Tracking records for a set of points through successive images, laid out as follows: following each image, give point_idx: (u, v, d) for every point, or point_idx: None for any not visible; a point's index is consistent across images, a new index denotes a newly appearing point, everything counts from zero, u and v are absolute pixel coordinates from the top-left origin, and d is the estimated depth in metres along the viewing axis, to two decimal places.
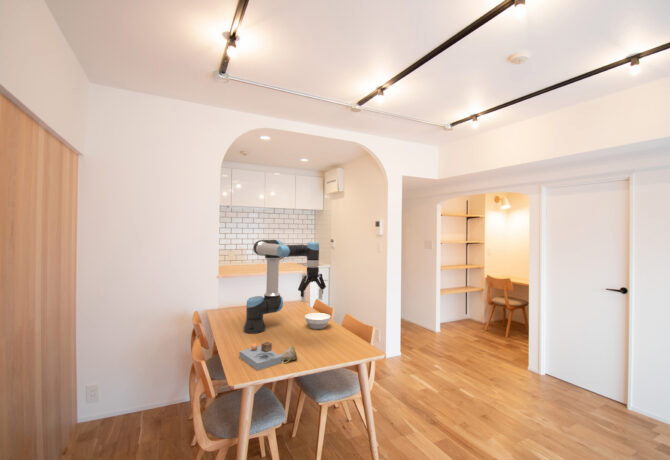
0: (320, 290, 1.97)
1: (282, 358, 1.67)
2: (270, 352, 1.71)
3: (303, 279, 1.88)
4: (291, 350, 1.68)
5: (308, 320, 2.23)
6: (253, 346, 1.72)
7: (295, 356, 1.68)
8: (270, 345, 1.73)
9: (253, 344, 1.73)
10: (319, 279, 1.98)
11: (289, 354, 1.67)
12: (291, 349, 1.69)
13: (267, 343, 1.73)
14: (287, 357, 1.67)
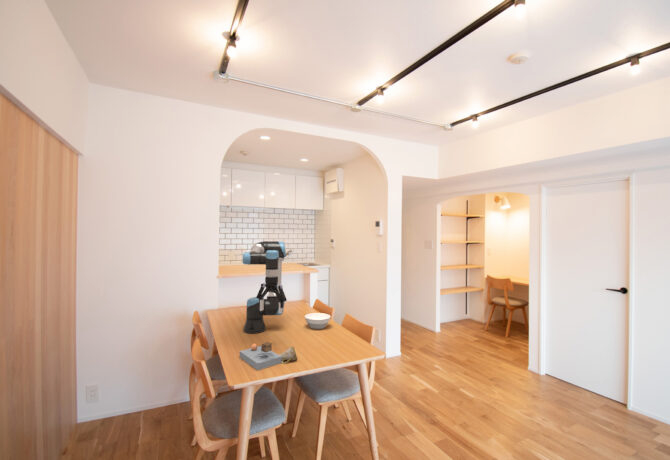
0: None
1: (282, 358, 1.67)
2: (270, 352, 1.71)
3: (261, 287, 1.86)
4: (291, 350, 1.68)
5: (308, 320, 2.23)
6: (253, 346, 1.72)
7: (295, 356, 1.67)
8: (270, 345, 1.73)
9: (253, 344, 1.73)
10: None
11: (289, 354, 1.67)
12: (291, 349, 1.68)
13: (267, 343, 1.73)
14: (287, 357, 1.67)
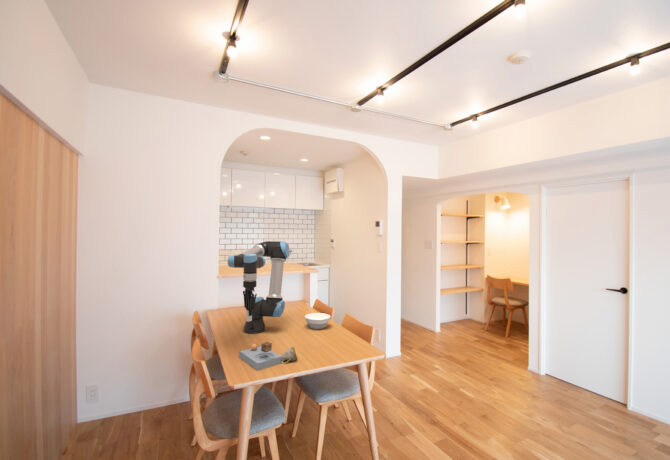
0: None
1: (282, 358, 1.67)
2: (270, 352, 1.71)
3: None
4: (291, 350, 1.68)
5: (308, 320, 2.23)
6: (253, 346, 1.72)
7: (295, 357, 1.67)
8: (270, 345, 1.73)
9: (253, 344, 1.73)
10: None
11: (289, 354, 1.67)
12: (291, 349, 1.68)
13: (267, 343, 1.73)
14: (287, 357, 1.67)
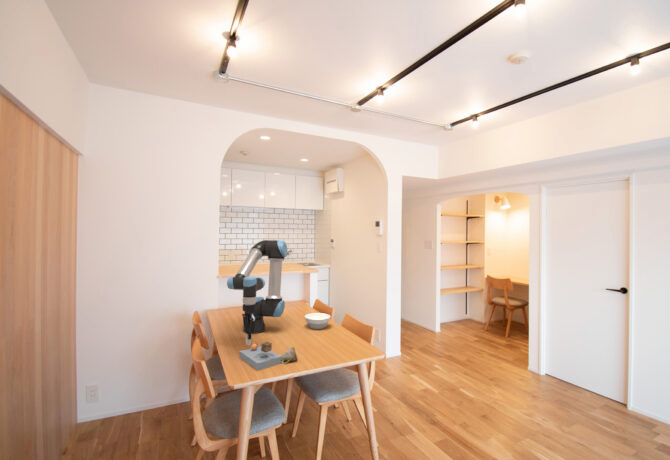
0: None
1: (282, 358, 1.66)
2: (270, 352, 1.71)
3: None
4: (291, 351, 1.67)
5: (308, 320, 2.23)
6: (253, 346, 1.72)
7: (295, 357, 1.67)
8: (270, 345, 1.73)
9: (253, 344, 1.73)
10: None
11: (289, 355, 1.67)
12: (291, 350, 1.68)
13: (267, 343, 1.73)
14: (287, 357, 1.67)
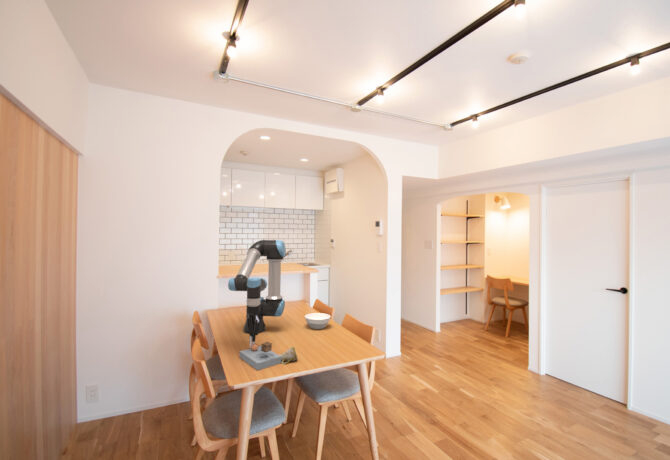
0: None
1: (282, 358, 1.66)
2: (270, 352, 1.71)
3: None
4: (291, 351, 1.67)
5: (308, 320, 2.23)
6: (254, 348, 1.72)
7: (295, 357, 1.67)
8: (270, 345, 1.73)
9: (254, 346, 1.72)
10: None
11: (289, 355, 1.66)
12: (291, 350, 1.68)
13: (267, 343, 1.73)
14: (287, 358, 1.67)
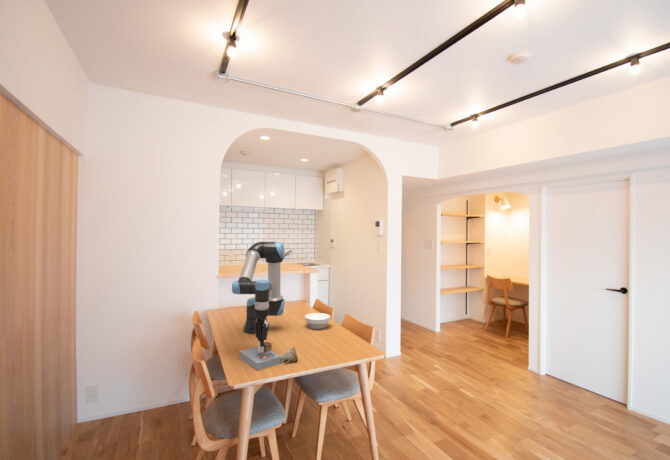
0: None
1: (282, 359, 1.66)
2: (270, 352, 1.71)
3: None
4: (291, 351, 1.67)
5: (308, 320, 2.23)
6: None
7: (295, 357, 1.66)
8: (270, 345, 1.73)
9: None
10: None
11: (289, 355, 1.66)
12: (291, 350, 1.67)
13: (267, 343, 1.73)
14: (287, 358, 1.66)
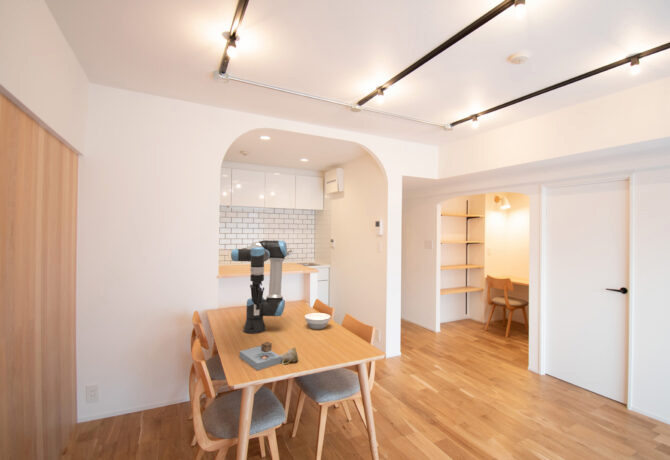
0: None
1: (282, 359, 1.66)
2: (270, 352, 1.71)
3: None
4: (292, 351, 1.66)
5: (308, 320, 2.23)
6: None
7: (295, 358, 1.65)
8: (270, 345, 1.73)
9: None
10: None
11: (289, 355, 1.66)
12: (292, 350, 1.67)
13: (267, 343, 1.73)
14: (287, 358, 1.66)
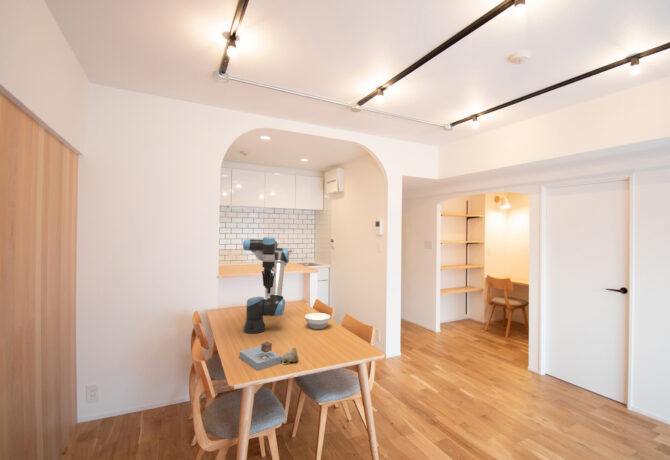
0: None
1: (283, 359, 1.66)
2: (270, 352, 1.71)
3: None
4: (292, 352, 1.66)
5: (308, 320, 2.23)
6: None
7: (295, 358, 1.65)
8: (270, 345, 1.73)
9: None
10: None
11: (289, 355, 1.65)
12: (292, 350, 1.67)
13: (267, 343, 1.73)
14: (288, 358, 1.65)
